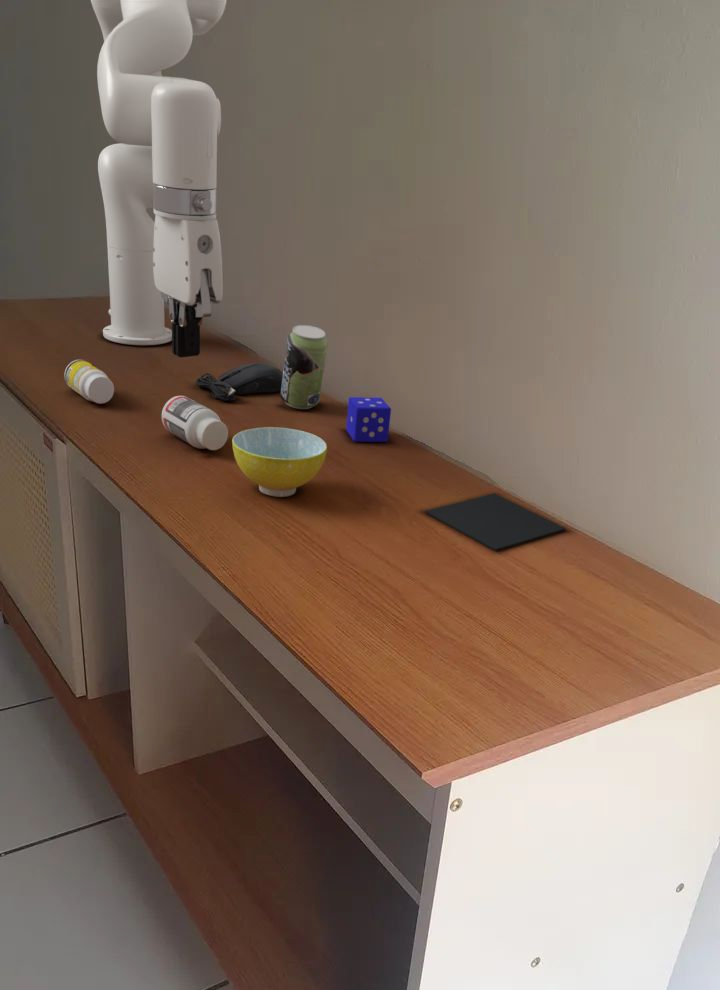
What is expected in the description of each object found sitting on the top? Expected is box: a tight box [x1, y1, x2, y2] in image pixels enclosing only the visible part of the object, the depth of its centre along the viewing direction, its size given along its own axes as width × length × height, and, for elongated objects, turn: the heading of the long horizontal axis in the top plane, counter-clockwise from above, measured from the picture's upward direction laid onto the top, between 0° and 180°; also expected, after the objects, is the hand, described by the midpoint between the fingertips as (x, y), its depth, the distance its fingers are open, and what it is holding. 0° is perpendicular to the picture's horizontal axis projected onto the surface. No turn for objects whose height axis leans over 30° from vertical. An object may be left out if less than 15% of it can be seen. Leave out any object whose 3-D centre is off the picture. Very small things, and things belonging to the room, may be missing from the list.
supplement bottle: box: [64, 359, 115, 405], centre depth 139 cm, size 5×5×8 cm
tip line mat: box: [424, 493, 566, 552], centre depth 113 cm, size 12×12×1 cm
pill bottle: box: [161, 395, 229, 451], centre depth 126 cm, size 5×5×10 cm
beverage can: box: [279, 324, 329, 410], centre depth 142 cm, size 6×7×12 cm
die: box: [345, 396, 392, 443], centre depth 135 cm, size 5×5×5 cm
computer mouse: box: [194, 362, 283, 402], centre depth 149 cm, size 10×15×4 cm
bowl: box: [231, 426, 328, 498], centre depth 114 cm, size 11×12×6 cm
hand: (186, 354), depth 123 cm, fingers closed
